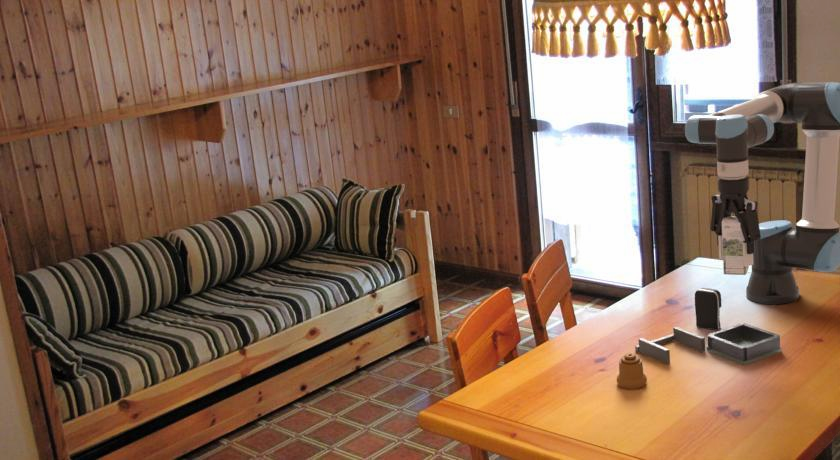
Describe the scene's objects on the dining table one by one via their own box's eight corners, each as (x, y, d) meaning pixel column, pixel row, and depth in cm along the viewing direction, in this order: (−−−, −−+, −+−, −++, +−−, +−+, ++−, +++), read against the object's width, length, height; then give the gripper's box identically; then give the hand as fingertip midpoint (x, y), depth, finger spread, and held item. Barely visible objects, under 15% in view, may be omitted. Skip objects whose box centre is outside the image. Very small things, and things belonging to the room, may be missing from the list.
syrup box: (749, 268, 244) (747, 215, 241) (746, 275, 239) (744, 221, 235) (726, 268, 247) (724, 215, 243) (723, 275, 242) (721, 221, 238)
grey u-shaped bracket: (673, 338, 262) (672, 325, 261) (705, 351, 251) (704, 337, 250) (635, 351, 256) (634, 337, 255) (666, 364, 245) (665, 350, 244)
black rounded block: (724, 326, 266) (722, 288, 263) (717, 331, 263) (716, 292, 260) (701, 322, 271) (699, 285, 268) (695, 327, 268) (693, 289, 265)
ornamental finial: (652, 381, 236) (637, 392, 231) (626, 376, 241) (611, 386, 236) (650, 352, 234) (635, 363, 229) (624, 347, 239) (609, 357, 234)
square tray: (743, 337, 256) (743, 322, 255) (781, 351, 245) (781, 335, 244) (706, 350, 251) (705, 335, 250) (743, 365, 239) (743, 349, 238)
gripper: (693, 174, 244) (697, 257, 250) (752, 184, 226) (755, 273, 232) (715, 168, 247) (718, 250, 253) (775, 178, 229) (777, 267, 234)
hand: (736, 261), depth 242 cm, fingers closed on syrup box, 8 cm apart
